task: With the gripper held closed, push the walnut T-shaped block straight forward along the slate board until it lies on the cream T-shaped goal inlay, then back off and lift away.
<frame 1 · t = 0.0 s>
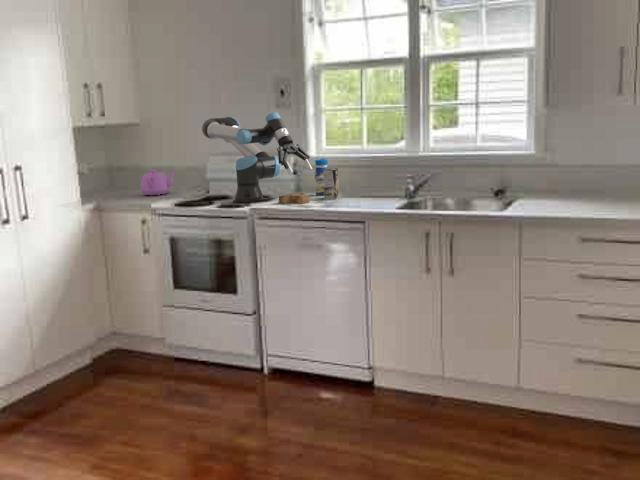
hand: (301, 172, 351), 15 cm above the countertop, tool tilted 35°, fingers open, 13 cm apart
teapot: (157, 194, 410), on the countertop
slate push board: (303, 204, 341), on the countertop
beverage bottle: (323, 196, 368), on the countertop
coffee box: (332, 200, 353), on the countertop
walnut t block: (297, 202, 344), point 1 cm above the countertop, touching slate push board
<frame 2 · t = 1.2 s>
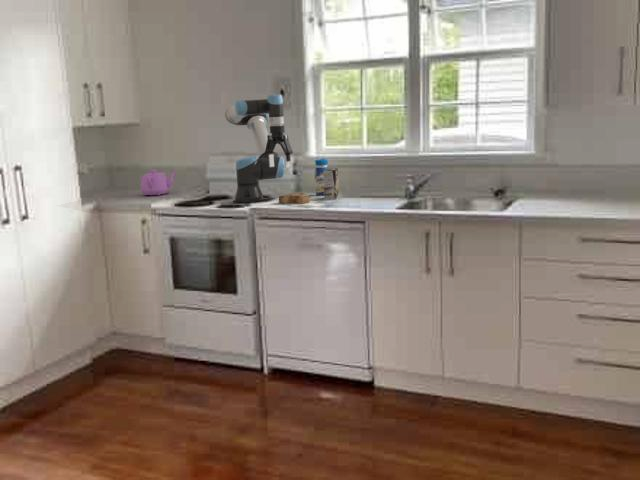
hand: (279, 167, 350), 18 cm above the countertop, tool pointing down, fingers open, 12 cm apart
nothing on the countertop moved.
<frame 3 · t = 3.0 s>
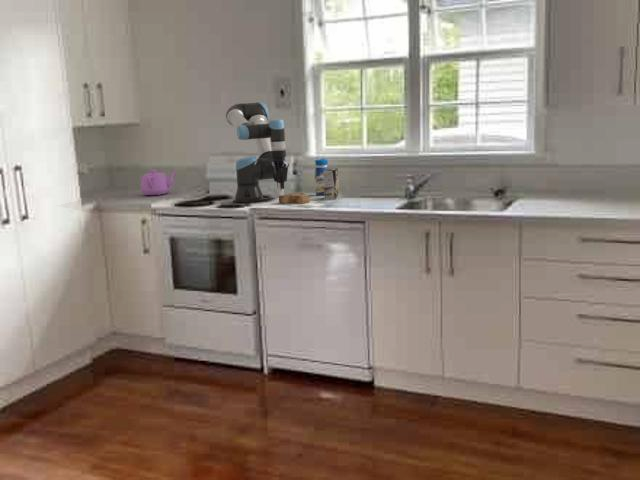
hand: (281, 194, 353), 4 cm above the countertop, tool pointing down, fingers closed
nothing on the countertop moved.
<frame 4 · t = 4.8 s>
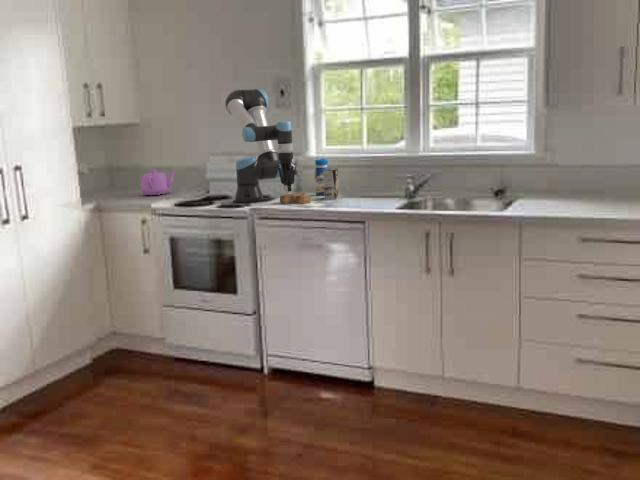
hand: (288, 197, 349), 3 cm above the countertop, tool pointing down, fingers closed
walnut t block: (298, 202, 344), point 1 cm above the countertop, touching gripper, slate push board
everything else where it was.
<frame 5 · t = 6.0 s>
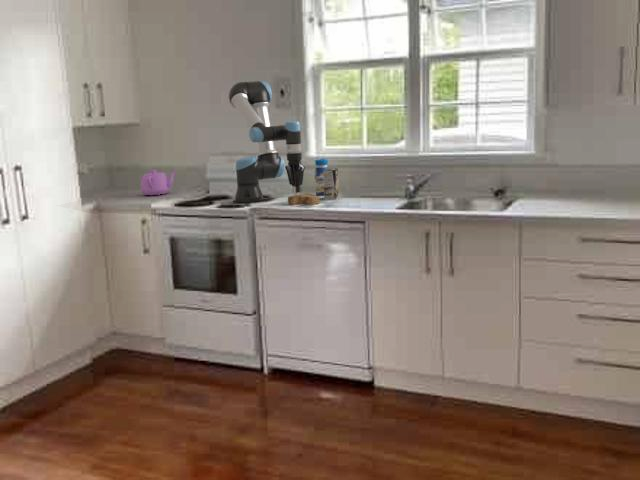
hand: (296, 198, 344), 3 cm above the countertop, tool pointing down, fingers closed
walnut t block: (306, 203, 339), point 1 cm above the countertop, touching gripper, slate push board
everything else where it was.
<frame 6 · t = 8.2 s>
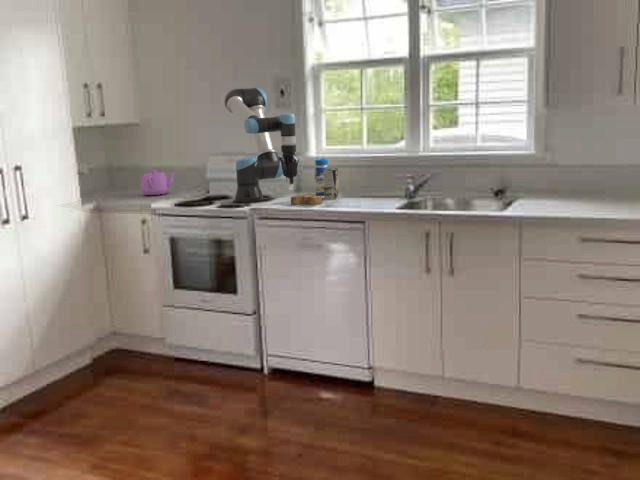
hand: (290, 190, 348), 7 cm above the countertop, tool pointing down, fingers closed
walnut t block: (309, 204, 338), point 1 cm above the countertop, touching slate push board
everything else where it was.
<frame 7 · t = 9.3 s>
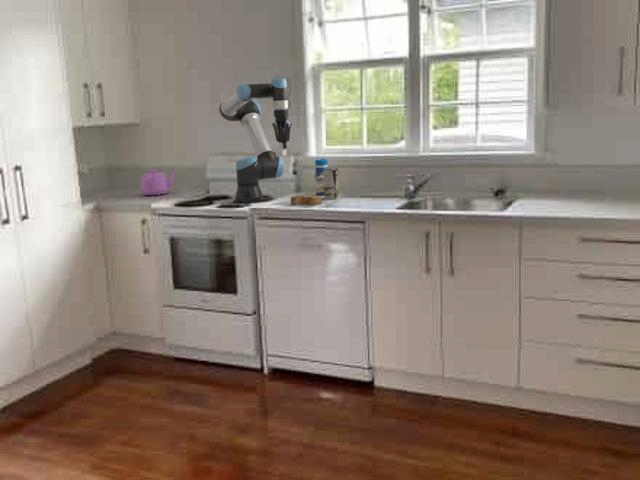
hand: (283, 155, 350), 24 cm above the countertop, tool pointing down, fingers closed
nothing on the countertop moved.
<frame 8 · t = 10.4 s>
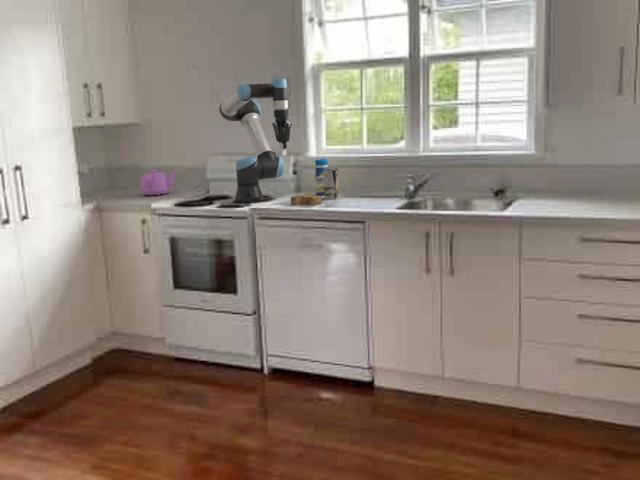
hand: (283, 155, 350), 24 cm above the countertop, tool pointing down, fingers closed
nothing on the countertop moved.
at the end: walnut t block 1.0 cm from the target spot on the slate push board, point 0.8 cm above the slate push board's base; walnut t block tilted 0° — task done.
